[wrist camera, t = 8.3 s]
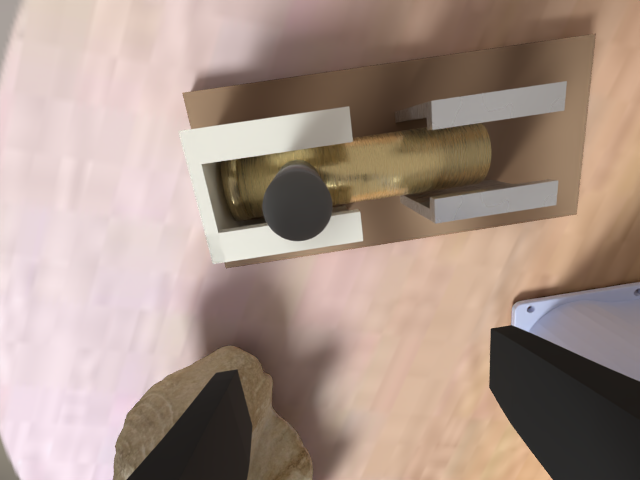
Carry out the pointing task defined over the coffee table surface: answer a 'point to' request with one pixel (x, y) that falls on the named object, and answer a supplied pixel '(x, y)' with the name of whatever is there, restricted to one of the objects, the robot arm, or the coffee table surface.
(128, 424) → the sculpture
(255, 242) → the socket block
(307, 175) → the brass bolt
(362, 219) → the guide board
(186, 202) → the coffee table surface
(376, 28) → the coffee table surface
